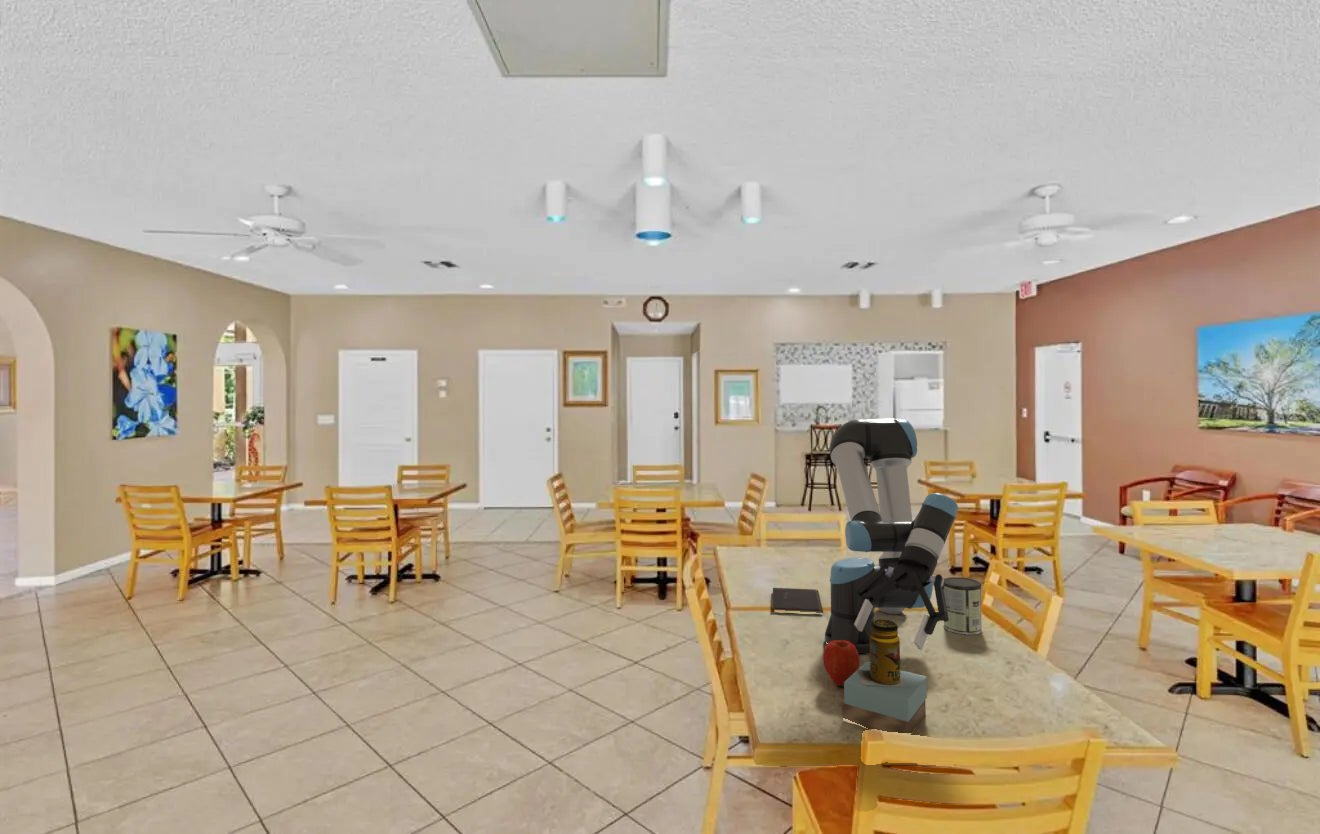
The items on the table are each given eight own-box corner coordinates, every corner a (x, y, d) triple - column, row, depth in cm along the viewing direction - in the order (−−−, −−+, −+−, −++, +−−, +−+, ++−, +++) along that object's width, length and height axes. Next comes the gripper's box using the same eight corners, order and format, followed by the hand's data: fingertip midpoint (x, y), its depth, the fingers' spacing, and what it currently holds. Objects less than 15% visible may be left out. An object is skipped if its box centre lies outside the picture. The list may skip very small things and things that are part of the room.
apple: (844, 697, 140) (844, 650, 140) (815, 684, 147) (814, 639, 147) (867, 687, 145) (867, 641, 145) (838, 675, 152) (837, 631, 152)
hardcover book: (772, 615, 199) (772, 607, 199) (772, 594, 222) (772, 587, 222) (823, 617, 196) (823, 610, 196) (818, 596, 219) (818, 589, 219)
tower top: (844, 703, 129) (844, 682, 129) (866, 681, 139) (866, 661, 139) (908, 722, 121) (908, 699, 121) (926, 697, 131) (926, 676, 131)
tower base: (842, 723, 129) (842, 702, 129) (865, 700, 139) (865, 681, 139) (905, 744, 121) (905, 721, 121) (925, 718, 131) (925, 697, 131)
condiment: (906, 687, 126) (905, 629, 126) (864, 686, 127) (863, 628, 127) (896, 672, 134) (895, 617, 133) (856, 671, 134) (855, 616, 134)
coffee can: (949, 620, 190) (948, 575, 190) (985, 628, 183) (985, 580, 183) (938, 629, 182) (937, 582, 182) (976, 637, 175) (975, 588, 175)
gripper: (983, 574, 131) (951, 664, 122) (877, 553, 150) (842, 629, 141) (972, 554, 128) (939, 644, 118) (864, 535, 147) (828, 612, 137)
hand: (886, 636), depth 130 cm, fingers open, 13 cm apart
